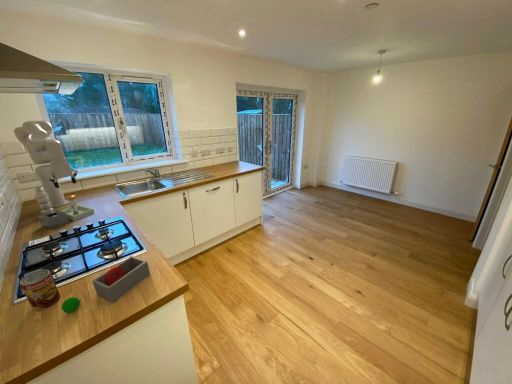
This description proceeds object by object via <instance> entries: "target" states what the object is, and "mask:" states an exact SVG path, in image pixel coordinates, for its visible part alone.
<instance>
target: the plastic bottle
mask: <svg viewBox="0 0 512 384" xmlns="http://www.w3.org/2000/svg"><path fill="white" fill-rule="evenodd" d="M34 190H35V194H34V198H35V200H36V202H37V203H38V205H39V208H40V213H41V216H42V215H45V214H48V213H51V212H54V211H55V210H54V207H53V208H52V206H51V204H50V202H49V198H48V194H47V193H46V192H45V191H44V188H43V186H42V187H36V188H34Z"/></svg>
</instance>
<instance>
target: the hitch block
mask: <svg viewBox="0 0 512 384" xmlns="http://www.w3.org/2000/svg"><path fill="white" fill-rule="evenodd" d="M61 211H62V210H54V212H51V213H48V214H45V215H42V214H41V215H40V216H39V215H38V216H37V218H38V220H39V223H40V225H41V227H42V228H45V229H47V230H53V229H56V228H60V227H61V226H64V225H66V224H69V223H70V221H69V219H68V218H67V215H66V213H64V212H61Z"/></svg>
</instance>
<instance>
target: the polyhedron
mask: <svg viewBox="0 0 512 384" xmlns="http://www.w3.org/2000/svg"><path fill="white" fill-rule="evenodd" d="M80 302H81V300H80V299H79V298H78V297H76V296H71V297H69V298H67V299H65V300H64V301H63V302H62V304H61V310H62V311H63V312H64V313H66V314H70V313H72V312H74V311H77V310H78V309H79V307H80V304H81V303H80Z"/></svg>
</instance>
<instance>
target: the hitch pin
mask: <svg viewBox="0 0 512 384" xmlns="http://www.w3.org/2000/svg"><path fill="white" fill-rule="evenodd" d="M65 199H66V200H68V204H69V206H70V208H71V209H72V212H73V214H74V215H76V214H79V213H80V212H79V209H78V206H77V205H78V203H77V200H76V194H71V195H67V196H66V198H65Z"/></svg>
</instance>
